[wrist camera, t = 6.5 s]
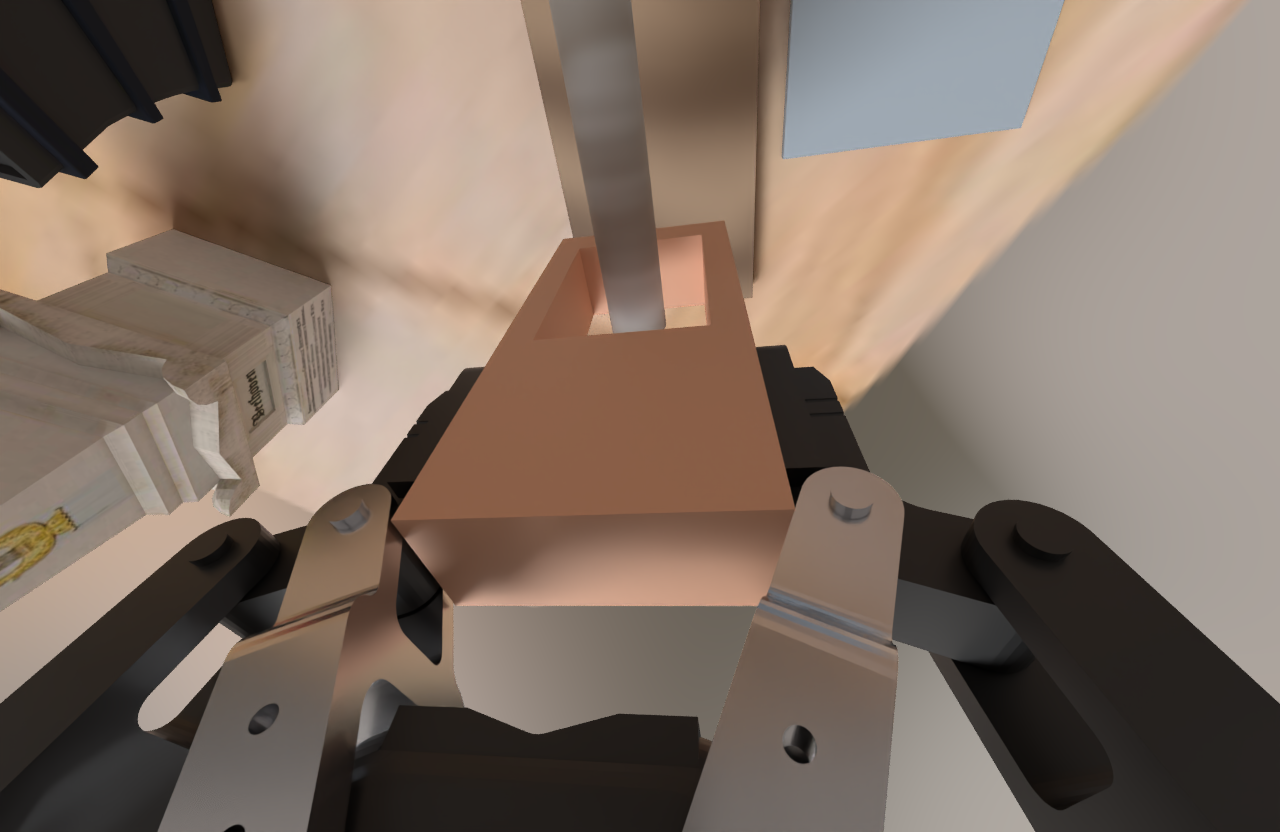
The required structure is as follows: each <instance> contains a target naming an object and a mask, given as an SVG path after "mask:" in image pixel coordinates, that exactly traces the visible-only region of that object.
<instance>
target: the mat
mask: <svg viewBox="0 0 1280 832" xmlns="http://www.w3.org/2000/svg"><path fill="white" fill-rule="evenodd" d="M1063 3H1064V0H791V4H790V22H789V39H788V56H787V74H786V91H785V108H784V126H783V143H782V158H783V159H789V158H797V157H804V156H812V155H819V154H827V153H835V152H842V151H850V150H857V149H865V148H872V147H880V146H888V145H895V144H903V143H910V142H918V141H925V140H933V139H941V138H948V137H956V136H963V135H971V134H979V133H986V132H994V131H1001V130H1009V129H1016V128H1021V126H1022V123H1023V120H1024V117H1025V114H1026V111H1027V108H1028V106H1029V103H1030V100H1031V97H1032V94H1033V91H1034V88H1035V85H1036V82H1037V79H1038V76H1039V73H1040V70H1041V67H1042V65H1043V62H1044V59H1045V56H1046V53H1047V50H1048V47H1049V44H1050V41H1051V38H1052V35H1053V32H1054V29H1055V26H1056V24H1057V21H1058V18H1059V15H1060V12H1061V9H1062V6H1063Z"/></svg>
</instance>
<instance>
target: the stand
mask: <svg viewBox="0 0 1280 832" xmlns="http://www.w3.org/2000/svg"><path fill="white" fill-rule="evenodd" d="M521 4H522V9H523V13H524V18H525V22H526V27H527V31H528V36H529V40H530V45H531V49H532V54H533V58H534V63H535V67H536V72H537V76H538V81H539V85H540V90H541V94H542V99H543V103H544V108H545V112H546V117H547V121H548V126H549V130H550V135H551V139H552V144H553V148H554V153H555V157H556V162H557V166H558V171H559V175H560V180H561V184H562V189H563V193H564V198H565V202H566V207H567V211H568V216H569V220H570V225H571V229H572V234H573V238H578V237H586V236H594V237H595V242H596V247H597V253H598V258H599V263H600V268H601V273H602V278H603V284H604V289H605V294H606V299H607V304H608V310H609V315H610V320H611V325H612V330H613V333H625V332H636V331H648V330H660V329H664V328H665V327H666V319H665V310H664V301H663V291H662V282H661V273H660V264H659V254H658V245H657V236H656V228H664V227H672V226H681V225H689V224H698V223H707V222H715V221H725V225H726V229H727V233H728V237H729V241H730V245H731V249H732V253H733V257H734V261H735V266H736V270H737V274H738V278H739V282H740V286H741V290H742V294H743V298H752V294H753V255H754V216H755V177H756V139H757V100H758V61H759V23H760V0H521Z"/></svg>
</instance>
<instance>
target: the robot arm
mask: <svg viewBox="0 0 1280 832" xmlns="http://www.w3.org/2000/svg"><path fill="white" fill-rule="evenodd" d="M756 351H757V355H758V359H759V363H760V367H761V371H762V375H763V379H764V384H765V388H766V392H767V396H768V400H769V404H770V408H771V412H772V416H773V420H774V424H775V428H776V432H777V436H778V441H779V445H780V449H781V453H782V457H783V461H784V465H785V469H786V473H787V477H788V481H789V485H790V489H791V493H792V497H793V502H794V506H795V511H794V513H793V516H792V519H791V523H790V526H789V529H788V532H787V535H786V538H785V541H784V544H783V547H782V551H781V554H780V557H779V560H778V563H777V566H776V569H775V572H774V575H773V579H772V582H771V585H770V588H769V590H768V593H767V595H766V596H763V597H762V598H761V600H760V602H759V604H758V607H757V609H756V612H755V615H754V617H753V620H752V623H751V626H750V629H749V632H748V635H747V638H746V641H745V644H744V647H743V650H742V653H741V656H740V659H739V662H738V666H737V668H736V671H735V674H734V677H733V680H732V684H731V686H730V690H729V692H728V695H727V698H726V702H725V705H724V707H723V711H722V713H721V717H720V720H719V722H718V725H717V729H716V732H715V735H714V738H713V741H710V740H707V739H704V738H702V737H701V735H700V729H699V723H698V717H687V716H662V715H635V714H616V715H612V716H609V717H605V718H601V719H598V720H593V721H590V722H586V723H582V724H578V725H575V726H571V727H568V728H564V729H559V730H556V731H552V732H548V733H544V734H531V733H528V732H525V731H523V730H520V729H518V728H515V727H513V726H510V725H508V724H506V723H503V722H501V721H499V720H496V719H494V718H491V717H488V716H486V715H484V714H481V713H479V712H476V711H474V710H472V709H469V708H465V707H464V703H463V699H462V696H461V693H460V690H459V688H458V686H457V683H456V679H455V674H454V654H453V653H454V651H453V649H454V646H453V602H452V600H451V599H450V598H449V596H448V595H447V594H446V592H445V591H444V590H443V588H442V587H441V586H440V584H439V583H438V582H437V581H436V579H435V578H434V577H433V575H432V574H431V573H430V571H429V570H428V569H427V567H426V566H425V565H424V564H423V562H422V561H421V560H420V558H419V557H418V556H417V554H416V553H415V552H414V550H413V549H412V548H411V546H410V545H409V544H408V543H407V541H406V540H405V539H404V537H403V536H402V535H401V533H400V532H399V531H398V529H397V528H396V527H395V526H394V524H393V523H392V522H391V519H392V518H393V516H394V514H395V513H396V511H397V509H398V508H399V506H400V504H401V503H402V501H403V500H404V498H405V496H406V495H407V493H408V491H409V490H410V488H411V487H412V485H413V483H414V482H415V480H416V478H417V477H418V475H419V473H420V472H421V470H422V469H423V467H424V465H425V464H426V462H427V460H428V459H429V457H430V456H431V454H432V452H433V451H434V449H435V447H436V446H437V444H438V443H439V441H440V439H441V438H442V436H443V434H444V433H445V431H446V429H447V428H448V426H449V425H450V423H451V421H452V420H453V418H454V416H455V415H456V413H457V412H458V410H459V408H460V407H461V405H462V403H463V402H464V400H465V399H466V397H467V395H468V394H469V392H470V390H471V389H472V387H473V385H474V384H475V382H476V381H477V379H478V377H479V376H480V374H481V372H482V371H483V369H484V368H485V367H477V368H466V369H464V370H463V371H462V372H461V374H460V375H459V377H458V378H457V380H456V381H455V383H454V384H453V385H452V387H451V388H450V390H449V391H445V392H444V393H443V394H441V395H440V396H439V397H438V398H436V399H435V400H434V401H433V402H431V403H430V404H429V405H428V406H427V407H426V409H425V410H424V411H423V413H422V414H421V416H420V417H419V418H418V420H417V421H416V422H417V424H414V425H413V427H412V428H411V430H410V431H409V432H408V434H407V438H404V439H403V441H402V442H401V444H400V445H399V446H398V448H397V449H396V451H395V452H394V453H393V455H392V456H391V458H390V459H389V461H388V462H387V463H386V465H385V466H384V468H383V469H382V470H381V472H380V473H379V475H378V476H377V477H376V479H375V480H374V482H373V483H372V484H366V485H361V486H357V487H354V488H351V489H349V490H346V491H344V492H342V493H340V494H339V495H337V496H335V497H334V498H332V499H331V500H329V501H328V502H327V503H325V504H324V505H323V506H322V507H321V508H320V509H319V510H318V511H317V512H316V513H315V514H314V516H313V517H312V518H311V520H310V521H309V523H308V525H307V526H303V527H300V528H296V529H293V530H289V531H286V532H283V533H279V534H275V535H272V534H271V533H270V532H269V531H267V530H266V529H265V528H264V527H263V526H262V525H261V524H260V523H259V522H258V521H256V520H255V519H251V518H239V519H235V520H231V521H228V522H225V523H223V524H220V525H218V526H216V527H213V528H211V529H210V530H208V531H206V532H205V533H203V534H201V535H199V536H198V537H197V538H195V539H194V540H192V541H191V542H190V543H189V544H187V545H186V546H185V547H184V548H182V549H181V550H180V551H179V552H178V553H177V554H175V555H174V556H173V557H172V558H171V559H170V560H168V561H167V562H166V563H165V564H164V565H163V566H161V567H160V568H159V569H158V570H157V571H155V572H154V573H153V574H152V575H151V576H150V577H148V578H147V579H146V580H145V581H144V582H143V583H142V584H140V585H139V586H138V587H137V588H136V589H134V590H133V591H132V592H131V593H130V594H128V595H127V596H126V597H125V598H124V599H123V600H121V601H120V602H119V603H118V604H117V605H116V606H114V607H113V608H112V609H111V610H110V611H108V612H107V613H106V614H105V615H104V616H103V617H101V618H100V619H99V620H98V621H97V622H96V623H94V624H93V625H92V626H91V627H90V628H89V629H87V630H86V631H85V632H84V633H83V634H82V635H80V636H79V637H78V638H77V639H76V640H75V641H73V642H72V643H71V644H70V645H69V646H67V647H66V648H65V649H64V650H63V651H62V652H60V653H59V654H58V655H57V656H56V657H55V658H53V659H52V660H51V661H50V662H49V663H47V664H46V665H45V666H44V667H43V668H42V669H40V670H39V671H38V672H37V673H36V674H35V675H33V676H32V677H31V678H30V679H29V680H27V681H26V682H25V683H24V684H23V685H22V686H21V687H19V688H18V689H17V690H16V691H15V692H13V693H12V694H11V695H10V696H9V697H8V698H7V699H5V700H4V701H3V702H2V703H0V832H883V831H884V820H885V808H886V798H887V786H888V775H889V765H890V753H891V742H892V731H893V720H894V709H895V699H896V688H897V676H898V651H897V647H896V645H893V643H892V640H895V641H899V642H902V643H905V644H908V645H911V646H914V647H917V648H920V649H923V650H927V651H929V653H930V655H931V656H932V658H933V660H934V662H935V663H936V665H937V667H938V668H939V670H940V672H941V673H942V675H943V676H944V678H945V680H946V682H947V683H948V685H949V687H950V689H951V690H952V692H953V694H954V695H955V697H956V699H957V700H958V702H959V704H960V705H961V707H962V709H963V710H964V712H965V714H966V715H967V717H968V719H969V720H970V722H971V724H972V725H973V727H974V729H975V731H976V732H977V734H978V736H979V737H980V739H981V741H982V743H983V744H984V746H985V748H986V749H987V751H988V753H989V754H990V756H991V758H992V759H993V761H994V763H995V764H996V766H997V768H998V770H999V771H1000V773H1001V774H1002V776H1003V778H1004V780H1005V781H1006V783H1007V785H1008V786H1009V788H1010V790H1011V791H1012V793H1013V795H1014V796H1015V798H1016V800H1017V802H1018V803H1019V805H1020V807H1021V808H1022V810H1023V812H1024V813H1025V815H1026V817H1027V818H1028V820H1029V822H1030V823H1031V825H1032V827H1033V828H1034V830H1035V832H1280V704H1279V703H1278V702H1277V701H1276V700H1275V699H1274V698H1273V697H1272V696H1271V695H1270V694H1269V693H1267V692H1266V691H1265V690H1264V689H1263V688H1262V687H1261V686H1260V685H1259V684H1258V683H1256V682H1255V681H1254V680H1253V679H1252V678H1251V677H1250V676H1249V675H1248V674H1247V673H1246V672H1244V671H1243V670H1242V669H1241V668H1240V667H1239V666H1238V665H1237V664H1236V663H1235V662H1233V661H1232V660H1231V659H1230V658H1229V657H1228V656H1227V655H1226V654H1225V653H1224V652H1223V651H1221V650H1220V649H1219V648H1218V647H1217V646H1216V645H1215V644H1214V643H1213V642H1212V641H1211V640H1209V639H1208V638H1207V637H1206V636H1205V635H1204V634H1203V633H1202V632H1201V631H1200V630H1199V629H1197V628H1196V627H1195V626H1194V625H1193V624H1192V623H1191V622H1190V621H1189V620H1188V619H1186V618H1185V617H1184V616H1183V615H1182V614H1181V613H1180V612H1179V611H1178V610H1177V609H1176V608H1174V607H1173V606H1172V605H1171V604H1170V603H1169V602H1168V601H1167V600H1166V599H1165V598H1164V597H1162V596H1161V595H1160V594H1159V593H1158V592H1157V591H1156V590H1155V589H1154V588H1153V587H1151V586H1150V585H1149V584H1148V583H1147V582H1146V581H1145V580H1144V579H1143V578H1142V577H1141V576H1140V575H1138V574H1137V573H1136V572H1135V571H1134V570H1133V569H1132V568H1131V567H1130V566H1129V565H1127V564H1126V563H1125V562H1124V561H1123V560H1122V559H1121V558H1120V557H1119V556H1118V555H1116V554H1115V553H1114V552H1113V551H1112V550H1111V549H1110V548H1109V547H1108V546H1107V545H1106V544H1105V543H1103V542H1102V541H1101V540H1100V539H1099V538H1098V537H1097V536H1096V535H1095V534H1094V533H1092V532H1091V531H1090V530H1089V529H1087V528H1086V527H1085V526H1084V525H1082V524H1081V523H1079V522H1078V521H1076V520H1075V519H1073V518H1071V517H1069V516H1068V515H1066V514H1064V513H1062V512H1060V511H1057V510H1055V509H1053V508H1050V507H1047V506H1044V505H1041V504H1037V503H1032V502H1028V501H1021V500H1003V501H996V502H992V503H990V504H988V505H986V506H984V507H983V508H981V509H980V510H979V511H978V513H977V514H976V516H975V518H974V519H970V518H965V517H961V516H956V515H952V514H947V513H942V512H938V511H932V510H928V509H924V508H921V507H917V506H915V505H912V504H909V503H907V502H905V501H902V500H901V498H900V496H899V495H898V493H897V492H896V491H895V490H894V488H893V487H892V486H890V484H888V483H887V482H886V481H884V480H882V478H880V477H878V476H876V475H874V474H872V473H870V471H869V469H868V467H867V464H866V462H865V460H864V457H863V455H862V453H861V451H860V448H859V446H858V444H857V441H856V439H855V437H854V435H853V432H852V430H851V428H850V425H849V423H848V421H847V419H846V416H844V412H843V409H842V407H841V405H840V402H839V401H837V395H836V393H835V391H834V389H833V386H832V384H831V382H830V380H829V379H827V378H826V377H825V376H824V375H823V374H821V373H820V372H819V371H818V370H816V369H815V368H814V367H802V368H794V366H793V363H792V361H791V358H790V355H789V352H788V349H787V346H786V345H777V346H764V347H756ZM218 623H221V624H222V625H223V626H225V627H226V628H228V629H229V630H231V631H232V632H234V633H235V634H237V635H238V636H240V637H241V638H243V639H241V640H240V641H239V642H237V643H236V644H235V645H234V646H233V648H232V649H231V650H230V652H229V653H228V655H227V657H226V659H225V662H224V663H223V666H222V667H221V668H220V669H219V670H218V671H217V672H216V673H215V675H214V676H213V677H212V678H211V679H210V680H209V681H208V682H207V683H206V685H205V686H204V687H203V688H202V689H201V690H200V691H199V692H198V693H197V695H196V696H195V697H194V698H193V699H192V700H191V701H190V702H189V704H188V705H187V706H186V707H185V708H184V709H183V710H182V711H181V713H180V714H179V715H178V716H177V717H176V718H174V719H173V720H172V721H171V722H169V723H168V724H166V725H164V726H163V727H161V728H158V729H155V730H152V731H143V730H142V729H141V728H140V727H139V725H138V713H139V710H140V708H141V706H142V704H143V702H144V701H145V700H146V698H147V697H148V696H149V695H150V693H151V692H152V691H153V690H154V689H155V688H156V687H157V686H158V685H159V684H160V683H161V682H162V681H163V680H164V679H165V678H166V677H167V676H168V675H169V674H170V673H171V672H172V671H173V670H174V669H175V667H176V666H177V665H178V664H179V663H180V662H181V661H182V660H183V659H184V658H185V657H186V656H187V655H188V654H189V653H190V652H191V651H192V650H193V649H194V648H195V647H196V646H197V645H198V644H199V643H200V642H201V641H202V640H203V639H204V637H205V636H206V635H207V634H208V633H209V632H210V631H211V630H212V629H213V628H214V627H215V626H216V625H217V624H218Z"/></svg>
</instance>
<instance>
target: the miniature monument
mask: <svg viewBox="0 0 1280 832" xmlns="http://www.w3.org/2000/svg"><path fill="white" fill-rule="evenodd" d="M106 256H107V266H108V273H105V274H103V275H100V276H98V277H95V278H93V279H90V280H88V281H85V282H83V283H80V284H78V285H75V286H73V287H70V288H68V289H65V290H63V291H60V292H58V293H55V294H53V295H50V296H48V297H45V298H43V299H40V300H38V301H35V300H32V299H29V298H26V297H23V296H19V295H16V294H13V293H10V292H7V291H4V290H0V612H1V611H2V610H4V609H5V608H7V607H8V606H10V605H11V604H13V603H14V602H16V601H17V600H19V599H20V598H22V597H23V596H25V595H26V594H28V593H29V592H31V591H32V590H34V589H35V588H37V587H38V586H40V585H41V584H43V583H44V582H46V581H47V580H49V579H50V578H52V577H53V576H55V575H56V574H58V573H59V572H61V571H62V570H64V569H65V568H67V567H68V566H70V565H71V564H73V563H74V562H76V561H77V560H79V559H80V558H82V557H83V556H85V555H86V554H88V553H89V552H91V551H93V550H94V549H96V548H97V547H98V546H100V545H102V544H103V543H104V542H106V541H108V540H109V539H110V538H112V537H114V536H115V535H117V534H118V533H120V532H121V531H123V530H124V529H126V528H127V527H129V526H130V525H131V524H133V523H134V522H136V521H138V520H139V519H141V518H142V517H143V516H145V515H170V514H171V513H172V512H173V511H174V510H175V509H176V508H177V507H178V506H179V505H181V504H182V503H183V502H198V501H199V500H200V499H201V498H203V497H204V496H205V495H206V494H207V493H208V492H209V491H210V490H211V489H212V490H215V492H214V495H213V497H212V501H213V506H214V507H215V508H216V509H217V510H218V511H219V512H220V513H222V514H224V515H227V516H229V517H230V516H231V515H232V514H233V513H234V512H235V511H236V510H237V509H238V508H239V507H240V506H241V505H242V504H243V503H244V502H245V500H247V498H248V497H249V496H250V495H251V494H252V493H253V492H254V491H255V490H256V489H257V488H258V487H259V486H260V485H259V481H258V477H257V473H256V470H255V466H254V462H253V457H254V456H255V455H256V454H257V453H258V452H259V451H260V450H261V449H262V448H263V447H264V446H265V445H266V444H267V443H268V442H269V441H270V440H271V439H272V438H273V437H274V436H275V435H276V434H277V433H278V432H279V431H280V430H282V429H283V428H284V427H285V426H286V425H287V424H298V425H304V424H305V423H306V422H307V421H308V420H309V419H310V418H311V417H312V416H313V415H314V414H315V413H316V412H317V411H318V410H319V409H320V408H321V407H322V406H323V405H324V404H325V403H326V402H327V401H328V400H329V399H330V398H331V397H332V396H333V395H334V394H335V393H336V392H337V391H338V390H339V388H338V374H337V360H336V346H335V332H334V318H333V304H332V290H331V285H329V284H326V283H323V282H320V281H317V280H315V279H312V278H309V277H306V276H303V275H301V274H298V273H295V272H292V271H289V270H287V269H284V268H281V267H278V266H275V265H273V264H270V263H267V262H264V261H261V260H259V259H256V258H253V257H250V256H247V255H244V254H242V253H239V252H236V251H233V250H230V249H228V248H225V247H222V246H219V245H216V244H214V243H211V242H208V241H205V240H202V239H200V238H197V237H194V236H191V235H188V234H186V233H183V232H180V231H177V230H174V229H171V230H169V231H166V232H163V233H161V234H158V235H155V236H152V237H150V238H147V239H144V240H142V241H139V242H136V243H133V244H131V245H128V246H125V247H123V248H120V249H117V250H114V251H112V252H109V253H106Z"/></svg>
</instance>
